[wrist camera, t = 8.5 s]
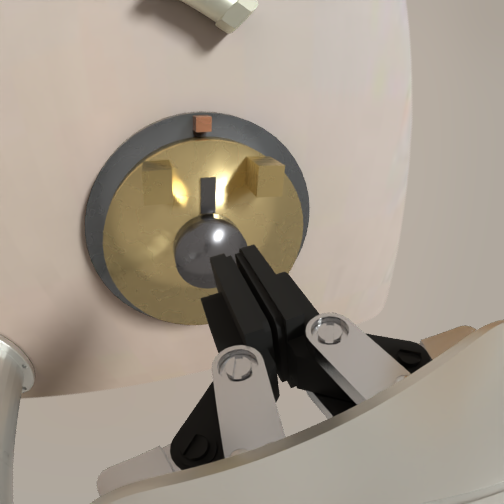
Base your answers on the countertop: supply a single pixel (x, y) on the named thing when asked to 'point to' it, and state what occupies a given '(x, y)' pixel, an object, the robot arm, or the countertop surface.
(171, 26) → the countertop surface
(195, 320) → the lugged brass disc
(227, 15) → the pipe fitting
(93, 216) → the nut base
